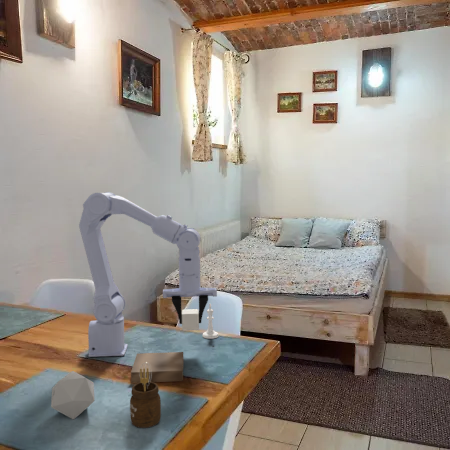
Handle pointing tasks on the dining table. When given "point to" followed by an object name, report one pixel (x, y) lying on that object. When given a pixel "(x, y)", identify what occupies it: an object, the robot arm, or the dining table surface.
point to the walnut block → (158, 367)
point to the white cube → (190, 319)
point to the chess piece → (210, 326)
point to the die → (72, 395)
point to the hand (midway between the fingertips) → (190, 322)
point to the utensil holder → (145, 402)
